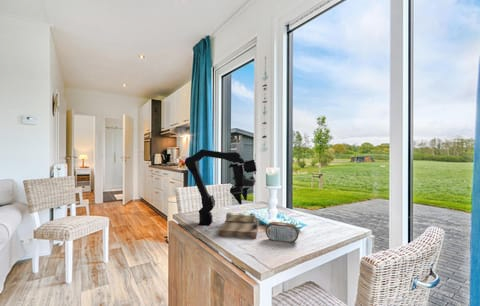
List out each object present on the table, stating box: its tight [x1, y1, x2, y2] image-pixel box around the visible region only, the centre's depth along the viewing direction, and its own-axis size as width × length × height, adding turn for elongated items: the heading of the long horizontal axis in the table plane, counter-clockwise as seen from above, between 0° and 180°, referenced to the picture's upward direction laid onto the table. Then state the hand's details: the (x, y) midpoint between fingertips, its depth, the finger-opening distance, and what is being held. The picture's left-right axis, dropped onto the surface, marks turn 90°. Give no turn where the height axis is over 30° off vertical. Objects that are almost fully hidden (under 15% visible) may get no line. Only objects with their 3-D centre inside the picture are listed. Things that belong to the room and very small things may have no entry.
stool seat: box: [218, 217, 260, 240], centre depth 123 cm, size 18×22×5 cm
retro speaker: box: [265, 221, 300, 244], centre depth 108 cm, size 15×3×8 cm, turn 74°
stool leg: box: [225, 212, 256, 222], centre depth 128 cm, size 16×4×4 cm, turn 81°
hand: (243, 202), depth 131 cm, fingers open, 9 cm apart
